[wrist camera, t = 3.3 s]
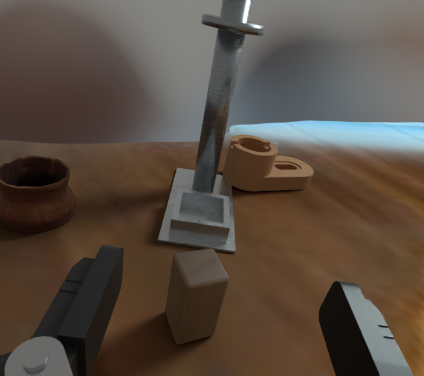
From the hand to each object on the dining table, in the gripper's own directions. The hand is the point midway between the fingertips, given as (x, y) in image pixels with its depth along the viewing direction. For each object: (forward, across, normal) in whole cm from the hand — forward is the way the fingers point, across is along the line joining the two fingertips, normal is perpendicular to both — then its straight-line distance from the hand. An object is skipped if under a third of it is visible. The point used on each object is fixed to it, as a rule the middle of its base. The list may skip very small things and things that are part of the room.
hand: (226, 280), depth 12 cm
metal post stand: (+32, 0, +18) cm, 37 cm away
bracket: (+44, -12, +18) cm, 49 cm away
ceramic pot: (+24, +21, +19) cm, 37 cm away
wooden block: (+11, 0, +18) cm, 22 cm away
